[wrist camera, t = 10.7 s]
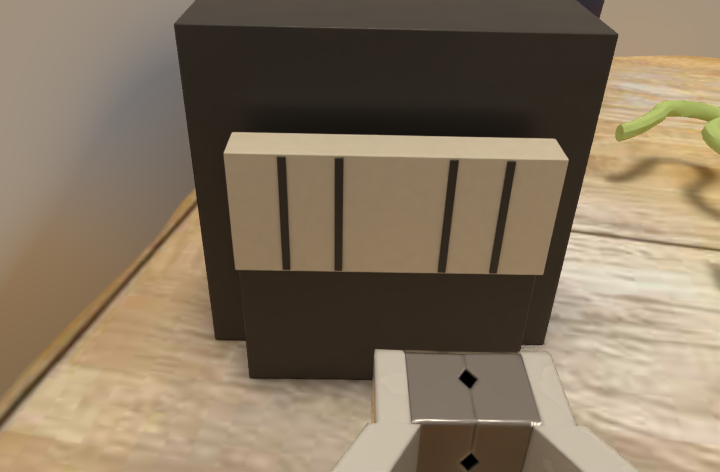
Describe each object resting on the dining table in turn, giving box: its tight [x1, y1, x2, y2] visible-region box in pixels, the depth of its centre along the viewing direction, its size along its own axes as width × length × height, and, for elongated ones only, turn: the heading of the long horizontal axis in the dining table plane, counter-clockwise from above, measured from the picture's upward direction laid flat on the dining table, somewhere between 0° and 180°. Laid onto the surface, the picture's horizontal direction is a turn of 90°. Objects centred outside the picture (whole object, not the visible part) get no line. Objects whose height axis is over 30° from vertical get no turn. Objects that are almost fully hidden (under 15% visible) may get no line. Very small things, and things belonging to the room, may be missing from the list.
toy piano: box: [174, 0, 618, 379], centre depth 28 cm, size 9×16×15 cm, turn 90°
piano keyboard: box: [223, 132, 569, 275], centre depth 24 cm, size 2×12×5 cm, turn 90°
